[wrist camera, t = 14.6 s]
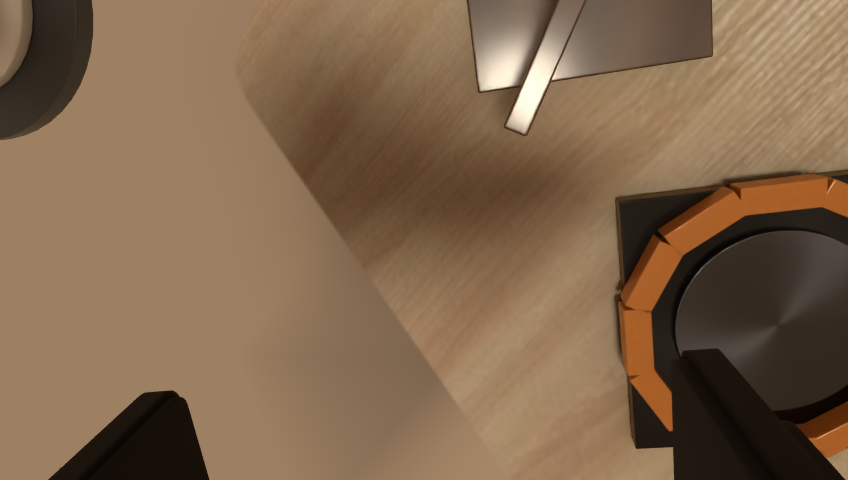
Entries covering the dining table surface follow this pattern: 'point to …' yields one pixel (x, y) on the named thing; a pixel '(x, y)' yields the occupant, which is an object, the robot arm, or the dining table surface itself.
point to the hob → (748, 303)
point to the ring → (683, 235)
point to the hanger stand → (578, 42)
